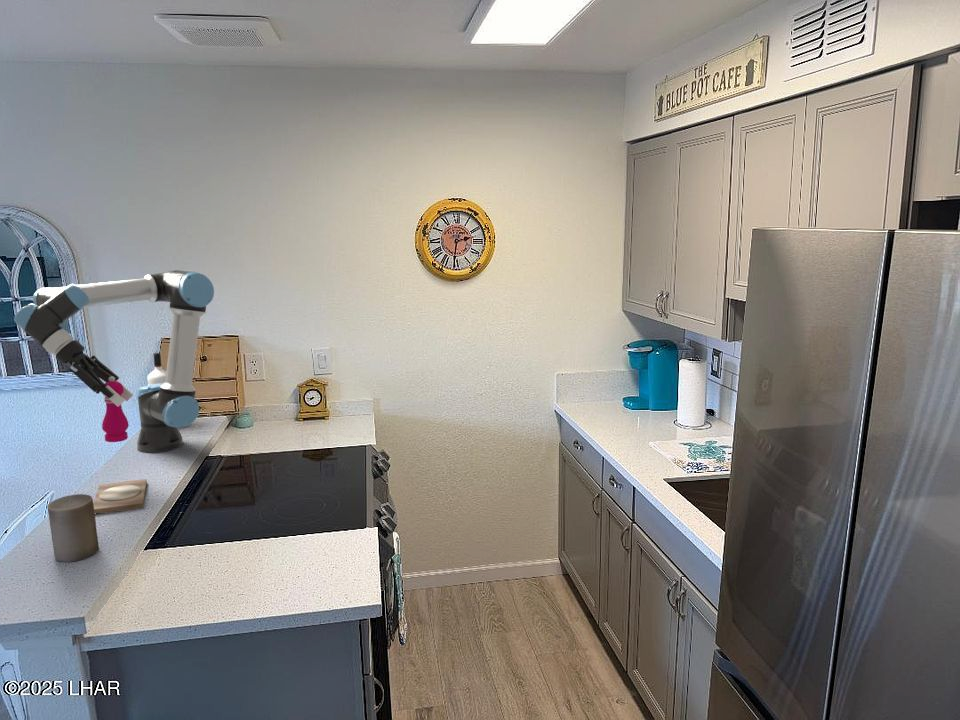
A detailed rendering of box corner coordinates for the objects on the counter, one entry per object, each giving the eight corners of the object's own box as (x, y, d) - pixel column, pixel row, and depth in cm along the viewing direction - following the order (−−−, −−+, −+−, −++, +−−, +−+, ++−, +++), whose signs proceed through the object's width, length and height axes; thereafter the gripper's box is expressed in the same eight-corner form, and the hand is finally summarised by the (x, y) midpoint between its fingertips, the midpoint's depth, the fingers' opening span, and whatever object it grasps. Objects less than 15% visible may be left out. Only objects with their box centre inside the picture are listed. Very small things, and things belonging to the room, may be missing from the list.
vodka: (151, 424, 276) (145, 351, 270) (176, 422, 279) (170, 350, 273) (149, 430, 267) (142, 355, 261) (175, 428, 271) (169, 354, 265)
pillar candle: (101, 541, 176) (94, 486, 173) (96, 558, 167) (88, 501, 164) (58, 548, 172) (50, 492, 169) (50, 565, 163) (41, 507, 160)
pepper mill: (117, 443, 207) (113, 379, 203) (97, 441, 209) (92, 377, 205) (134, 437, 214) (130, 374, 210) (115, 434, 215) (110, 373, 212)
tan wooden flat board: (100, 489, 210) (99, 483, 209) (146, 483, 214) (146, 477, 214) (91, 514, 191) (90, 508, 191) (142, 507, 196) (142, 501, 196)
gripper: (71, 350, 214) (129, 401, 219) (39, 362, 195) (104, 417, 200) (87, 334, 213) (145, 385, 218) (57, 344, 195) (121, 400, 200)
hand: (125, 400), depth 209 cm, fingers closed on pepper mill, 6 cm apart
